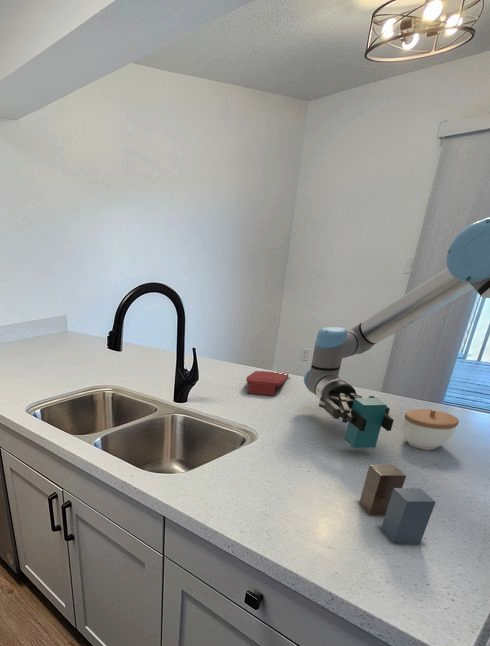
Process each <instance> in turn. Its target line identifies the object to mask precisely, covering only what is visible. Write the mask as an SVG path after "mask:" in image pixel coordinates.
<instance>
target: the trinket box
mask: <svg viewBox="0 0 490 646" xmlns="http://www.w3.org/2000/svg"><path fill="white" fill-rule="evenodd" d="M459 423H460V420H459V418H458V417H456V416H455V415H453V414H450V413H448V412H444V411H440V410H436V409H425V408H419V409H418V408H417V409H410V410H408V411H405V414H404V418H403V424H402V433H403V437H404V438H405V440H406V441H407V443H408V444H409V446H412V447H414V448H416V449H420V450H429V451H430V450H431V451H432V450H436V449H437V448H439V447H441V446H444V445H445V444H446V443H448V442H449V441H450V439H451V438H452V437H453V436H454V434H455V431H456V429H457V427H458V425H459Z"/></svg>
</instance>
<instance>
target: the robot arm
mask: <svg viewBox="0 0 490 646" xmlns="http://www.w3.org/2000/svg"><path fill="white" fill-rule="evenodd" d="M445 258H446V260H445V262H446V263H445V264H446V268H445V269H443V270H441V271H440V272H438V273H436V274H435V275H434V276H432V277H430V278H429V279H428V280H426V281H423V283H421V284H420V285H418V286H416V287H415V288H413V289H411V290H410V291H409V292H407V293H406V294H404V295H402V296H401V297H399V298H396V299H395V300H394V301H393V302H391V303H390V304H388V305H385V307H383V308H382V309H380V310H379V311H377V312H376V313H374V314H372V315H371V316H369V317H367V318H366V319H364V320H362V322H360V323H359V324H356V325H355V326H353V327H352V328H350V329H348V330H347V329H346V328H345V327H337V326H328V327H322V328H320V329H319V330H317V334H316V338H315V341H314V348H313V353H312V354H313V355H312V359H311V365H310V368H309V369H308V370H307V371H306V372H305V374H304V376H303V384H304V385H305V387H306V389H307V390H308V391H309V392H310V393H312V394H313V395H315V396H316V397H317V398H318V399H319V402H318V407H319V408H322V409H323V410H325V411H326V412H327V413H328V414H329V415H330V416H331V417H332V418H333V419H334V420H339V419H340V418H341V423H345V424H346V423H347V424H348V423H349V422H350V423H352V424H353V425H354V426H355V427H357V428H358V429H359V430H360V431H364V430H365V426H366V423H367V420H366V419H365V418H364V417H362V416H361V415H360V414H358V413H357V412H356V411H355V410H352V406H353V402H354V398H363V396H361V395H359V394H357V391H356V389H355V388H354V387H353V386H352V385H351V384H350V383H348V382H347V381H346V380H344V379H342V378H341V377H340V376H339V374H340V371H341V366H342V362H343V359H345V358H349V357H352V356H356V355H361V354H363V353H365V352H367V351H369V350H371V349H372V348H373V347H374V346H375V345H376V344H378V343H380V342H382V341H383V340H385V339H387V338H389V337H390V336H392V335H394V334H396V333H397V332H399V331H401V330H403V329H404V328H406V327H408V326H410V325H411V324H413V323H415V322H418V321H419V320H420V319H423V318H424V317H425V316H427V315H429V314H431V313H433V312H434V311H436V310H438V309H440V308H441V307H444V306H446V305H447V304H449V303H450V302H452V301H454V300H456V299H458V298H459V297H461V296H463V295H465V294H466V293H468V292H470V291H471V290H472V291H473V290H475V291H476V292H477V294H478V295H479V296H480V297H481V298H482V299H490V217H485V218H483V219H481V220H478V221H476V222H474V223H473V222H472V224H470V225H468V226H467V227H465V228H464V229H462V231H460V232H459V233H458V234H457V235H456V236H455V238H453V241H452V242H451V243H450V245H449V248H448V251H447V254H446V257H445ZM367 398H376V397H375V396H374V395H369V396H368V397H367ZM390 410H391V408H390V407H388V405H387V406H386V410H385V414H384V417H383V421H382V425H381V428H383V429H384V430H385V431H386V432H391V431H392V427H393V424H394V421H395V419H393V418H392V417H391V416H390V415H389V413H390Z"/></svg>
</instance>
